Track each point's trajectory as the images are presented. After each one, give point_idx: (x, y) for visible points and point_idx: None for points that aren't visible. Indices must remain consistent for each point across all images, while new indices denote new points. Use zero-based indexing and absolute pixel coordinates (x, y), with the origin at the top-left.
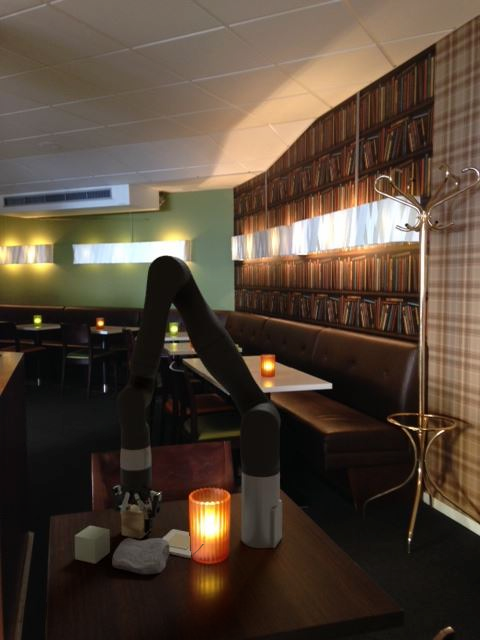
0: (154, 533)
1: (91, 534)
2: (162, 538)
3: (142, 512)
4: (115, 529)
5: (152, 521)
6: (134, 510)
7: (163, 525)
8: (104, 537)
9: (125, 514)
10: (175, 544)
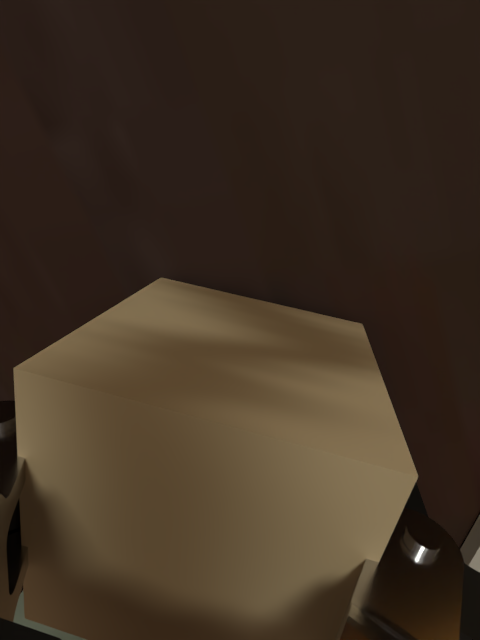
0: (395, 374)
1: None
2: None
3: (289, 614)
4: (50, 341)
5: (416, 491)
6: (142, 559)
7: (458, 199)
8: None
9: (87, 636)
10: None
